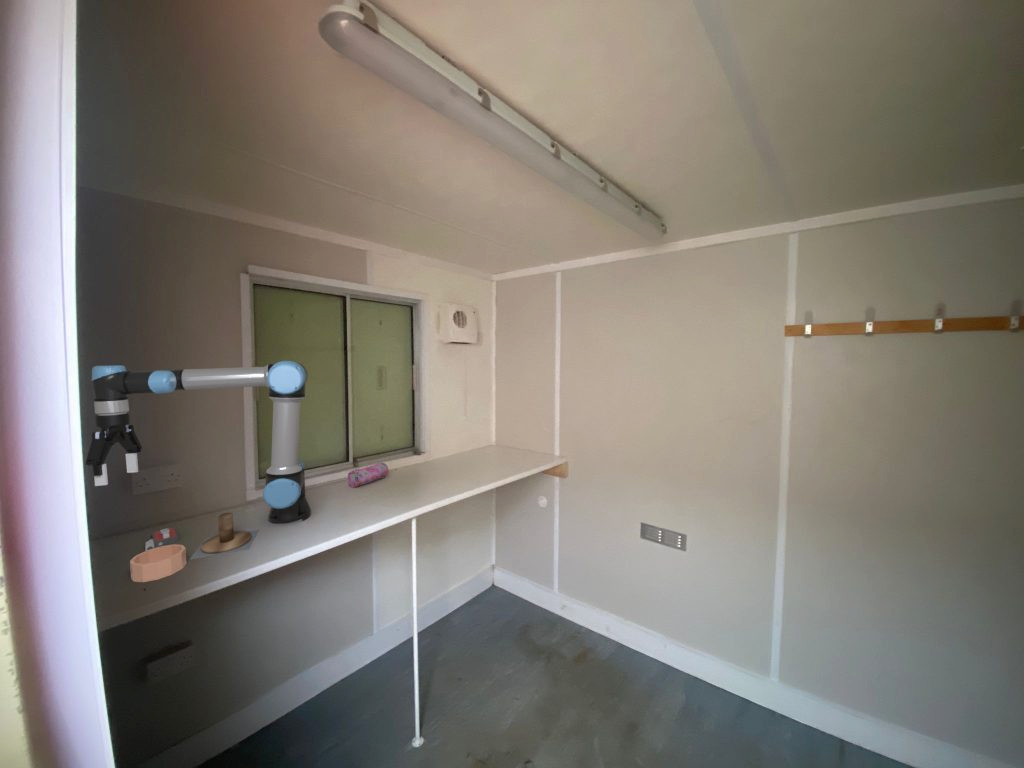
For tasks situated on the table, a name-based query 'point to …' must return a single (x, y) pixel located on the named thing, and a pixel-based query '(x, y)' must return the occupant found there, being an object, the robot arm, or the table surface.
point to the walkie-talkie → (162, 538)
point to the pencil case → (367, 474)
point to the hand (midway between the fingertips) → (118, 478)
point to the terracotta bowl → (157, 563)
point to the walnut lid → (225, 537)
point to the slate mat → (245, 547)
